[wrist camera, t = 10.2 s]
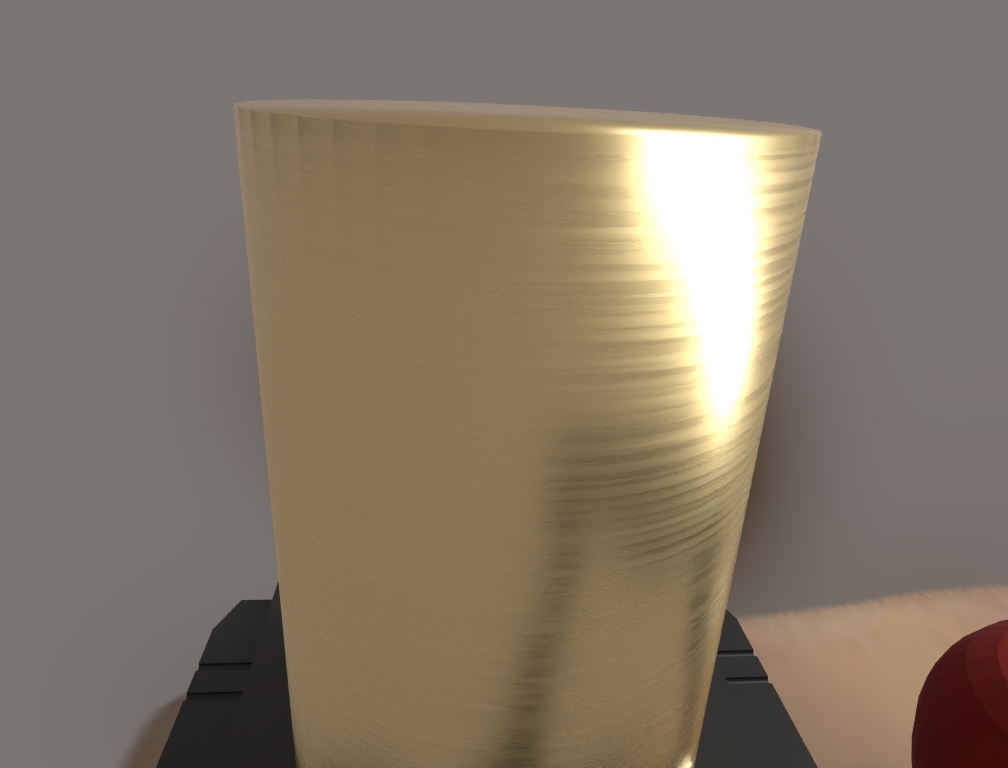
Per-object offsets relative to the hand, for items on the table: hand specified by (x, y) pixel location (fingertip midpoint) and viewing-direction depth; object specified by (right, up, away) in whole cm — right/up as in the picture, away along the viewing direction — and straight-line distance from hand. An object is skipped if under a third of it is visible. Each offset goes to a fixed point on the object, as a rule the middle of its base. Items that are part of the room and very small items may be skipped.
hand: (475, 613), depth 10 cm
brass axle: (0, -10, +1) cm, 10 cm away
